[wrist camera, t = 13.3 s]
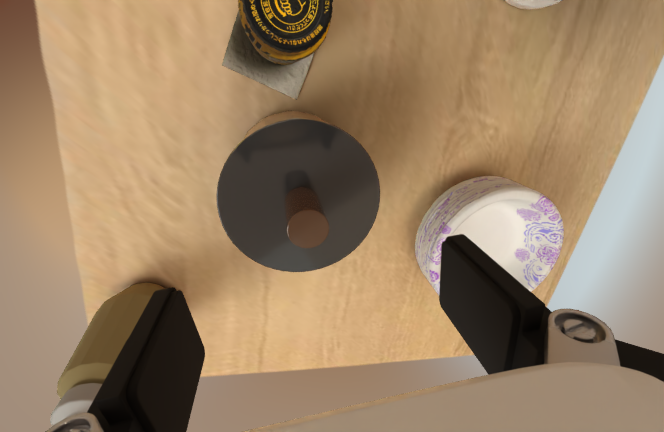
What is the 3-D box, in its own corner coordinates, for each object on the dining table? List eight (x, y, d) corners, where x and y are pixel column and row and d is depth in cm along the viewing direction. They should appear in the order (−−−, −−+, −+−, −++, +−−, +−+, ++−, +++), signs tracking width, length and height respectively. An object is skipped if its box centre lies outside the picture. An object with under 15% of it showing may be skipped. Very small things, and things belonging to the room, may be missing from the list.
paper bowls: (384, 211, 38) (410, 243, 31) (496, 143, 37) (550, 159, 30) (430, 294, 45) (460, 336, 37) (527, 238, 44) (577, 270, 36)
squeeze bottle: (168, 264, 36) (83, 419, 20) (196, 317, 39) (144, 486, 23) (96, 285, 36) (-52, 461, 19) (131, 336, 39) (32, 523, 23)
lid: (390, 129, 25) (424, 144, 20) (360, 267, 30) (379, 310, 25) (221, 104, 22) (205, 113, 17) (216, 261, 27) (203, 307, 22)
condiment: (331, 8, 29) (367, -32, 18) (296, 99, 31) (309, 112, 21) (252, -37, 27) (240, -114, 16) (222, 65, 29) (193, 59, 18)
